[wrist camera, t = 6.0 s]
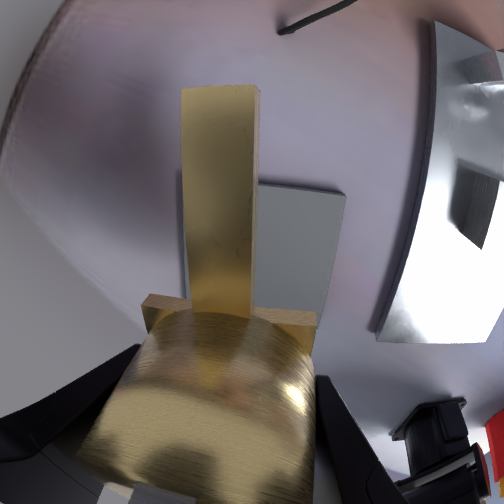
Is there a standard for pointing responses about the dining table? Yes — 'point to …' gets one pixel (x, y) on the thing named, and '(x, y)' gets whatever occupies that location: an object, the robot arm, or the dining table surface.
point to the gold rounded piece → (214, 347)
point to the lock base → (455, 203)
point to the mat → (293, 246)
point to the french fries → (497, 447)
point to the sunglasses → (315, 17)
